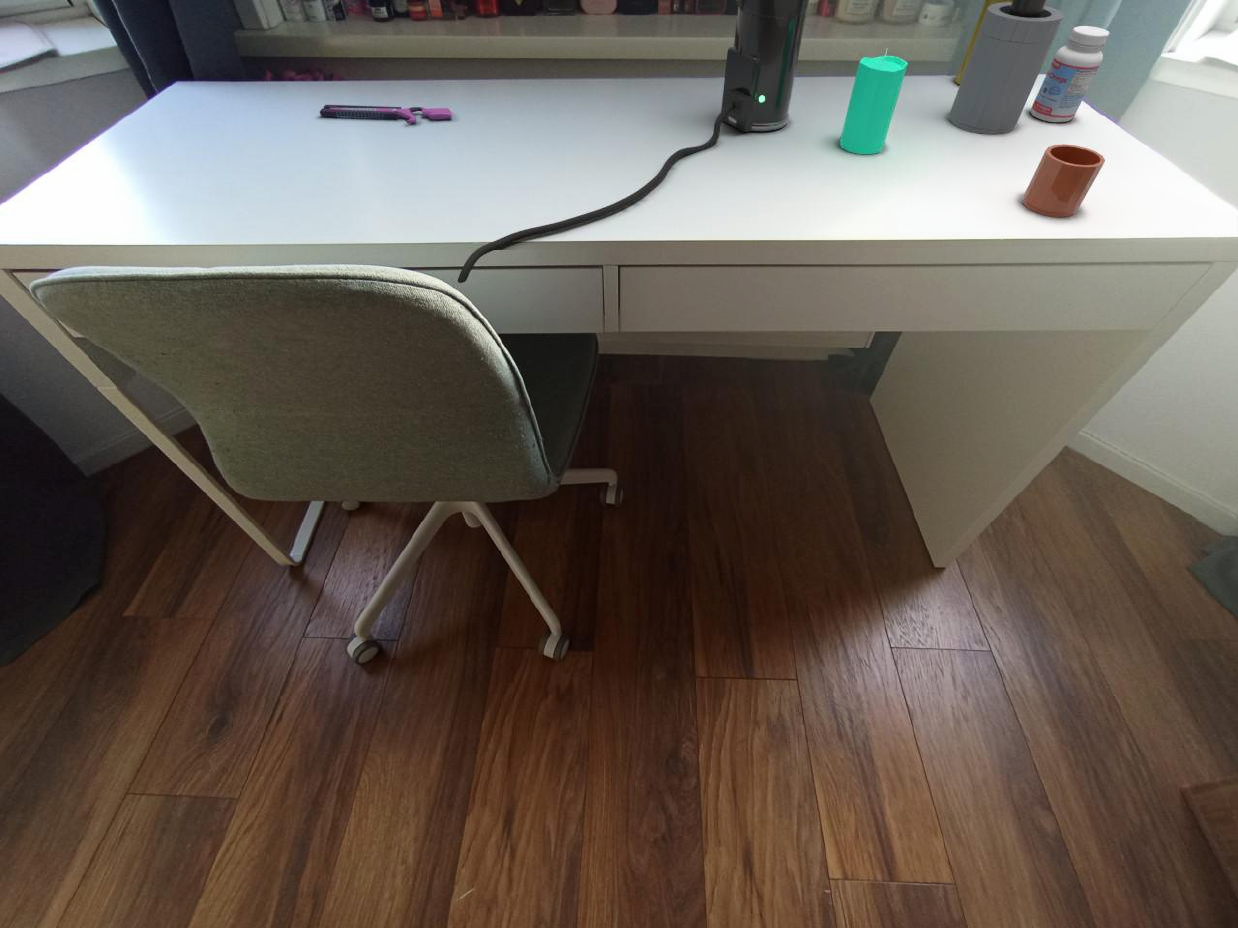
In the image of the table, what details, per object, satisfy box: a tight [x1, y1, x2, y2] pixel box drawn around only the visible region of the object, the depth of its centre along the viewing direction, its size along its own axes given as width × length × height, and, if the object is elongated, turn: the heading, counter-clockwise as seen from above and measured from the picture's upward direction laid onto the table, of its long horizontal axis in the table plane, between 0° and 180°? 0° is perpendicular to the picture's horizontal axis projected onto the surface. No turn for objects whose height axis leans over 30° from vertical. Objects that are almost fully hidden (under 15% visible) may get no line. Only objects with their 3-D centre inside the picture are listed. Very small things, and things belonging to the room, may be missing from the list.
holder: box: [1021, 143, 1106, 218], centre depth 76 cm, size 6×6×6 cm
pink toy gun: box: [319, 104, 453, 124], centre depth 97 cm, size 21×1×5 cm
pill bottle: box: [1030, 25, 1110, 123], centre depth 93 cm, size 6×6×11 cm
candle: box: [839, 47, 909, 155], centre depth 86 cm, size 6×6×12 cm
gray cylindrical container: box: [948, 2, 1065, 135], centre depth 91 cm, size 9×9×14 cm
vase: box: [954, 0, 1013, 86], centre depth 102 cm, size 6×6×14 cm
